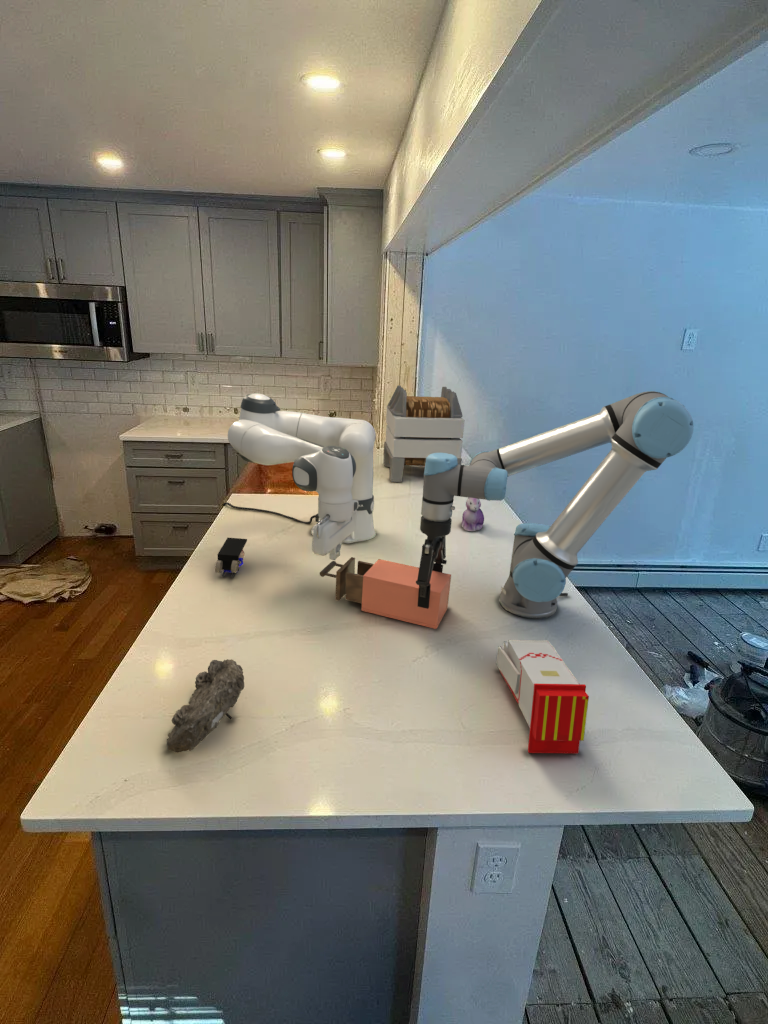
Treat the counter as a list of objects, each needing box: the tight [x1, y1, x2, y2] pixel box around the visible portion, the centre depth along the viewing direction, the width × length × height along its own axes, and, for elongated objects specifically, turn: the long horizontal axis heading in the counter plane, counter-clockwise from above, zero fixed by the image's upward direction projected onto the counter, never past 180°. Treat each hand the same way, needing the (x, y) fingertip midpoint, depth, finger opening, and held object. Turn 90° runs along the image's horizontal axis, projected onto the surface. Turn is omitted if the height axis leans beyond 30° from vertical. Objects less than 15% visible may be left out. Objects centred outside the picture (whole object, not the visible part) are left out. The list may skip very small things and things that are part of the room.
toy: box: [495, 639, 590, 754], centre depth 114 cm, size 12×13×30 cm
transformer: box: [383, 384, 465, 483], centre depth 268 cm, size 34×33×41 cm
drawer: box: [319, 556, 375, 605], centre depth 151 cm, size 24×10×8 cm, turn 70°
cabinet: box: [361, 558, 452, 630], centre depth 148 cm, size 20×11×10 cm, turn 70°
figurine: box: [461, 497, 485, 532], centre depth 206 cm, size 9×10×15 cm
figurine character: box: [214, 537, 248, 578], centre depth 166 cm, size 7×8×15 cm
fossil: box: [166, 658, 245, 754], centre depth 106 cm, size 22×10×15 cm
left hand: (334, 557), depth 152 cm, fingers closed
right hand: (429, 596), depth 146 cm, fingers closed on cabinet, 11 cm apart
